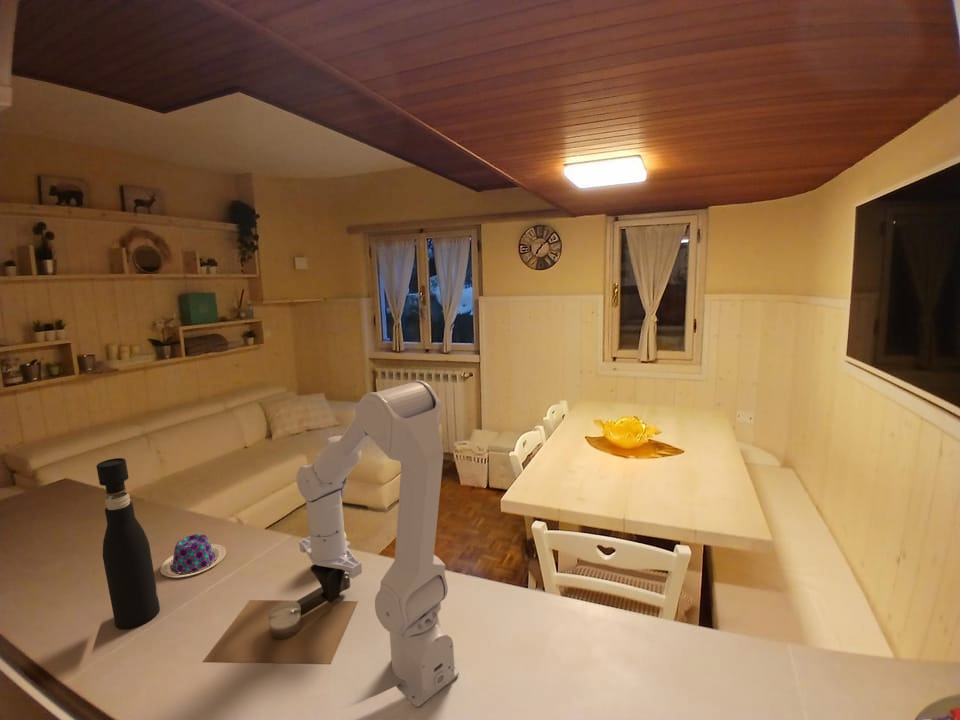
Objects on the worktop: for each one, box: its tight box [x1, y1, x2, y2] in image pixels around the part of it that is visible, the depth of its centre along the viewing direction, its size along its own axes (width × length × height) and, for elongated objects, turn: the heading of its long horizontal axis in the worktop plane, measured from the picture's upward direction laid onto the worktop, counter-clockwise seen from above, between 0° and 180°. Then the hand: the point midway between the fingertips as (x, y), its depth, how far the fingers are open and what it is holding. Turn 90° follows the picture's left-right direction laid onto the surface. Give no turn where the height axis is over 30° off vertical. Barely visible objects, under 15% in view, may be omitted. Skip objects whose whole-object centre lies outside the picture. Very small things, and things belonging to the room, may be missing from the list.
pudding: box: [160, 533, 226, 578], centre depth 102 cm, size 12×12×5 cm
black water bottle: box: [96, 457, 161, 631], centre depth 81 cm, size 6×6×30 cm
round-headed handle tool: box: [268, 572, 351, 639], centre depth 83 cm, size 15×5×3 cm, turn 140°
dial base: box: [202, 599, 359, 665], centre depth 80 cm, size 20×14×2 cm
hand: (333, 599), depth 85 cm, fingers closed
